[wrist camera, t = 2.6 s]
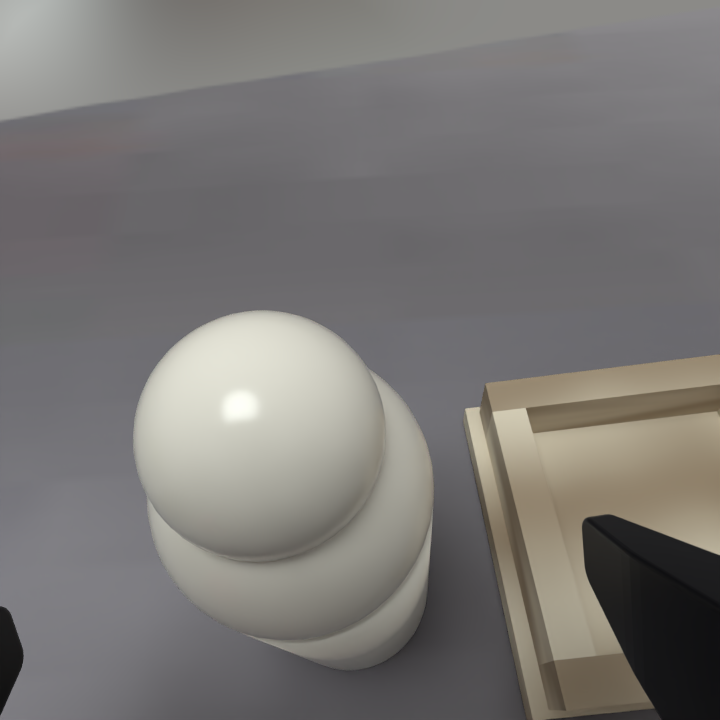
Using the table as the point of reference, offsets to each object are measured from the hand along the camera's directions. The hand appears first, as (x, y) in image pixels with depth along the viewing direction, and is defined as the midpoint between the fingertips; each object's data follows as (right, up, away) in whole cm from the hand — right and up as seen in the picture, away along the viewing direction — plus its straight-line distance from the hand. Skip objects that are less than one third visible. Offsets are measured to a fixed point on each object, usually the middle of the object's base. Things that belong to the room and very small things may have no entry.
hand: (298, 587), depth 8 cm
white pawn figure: (+1, -3, +9) cm, 9 cm away
